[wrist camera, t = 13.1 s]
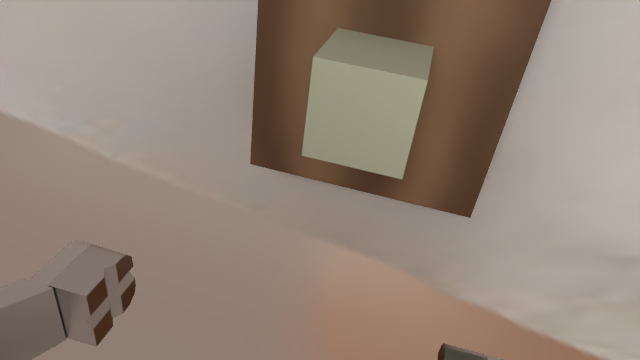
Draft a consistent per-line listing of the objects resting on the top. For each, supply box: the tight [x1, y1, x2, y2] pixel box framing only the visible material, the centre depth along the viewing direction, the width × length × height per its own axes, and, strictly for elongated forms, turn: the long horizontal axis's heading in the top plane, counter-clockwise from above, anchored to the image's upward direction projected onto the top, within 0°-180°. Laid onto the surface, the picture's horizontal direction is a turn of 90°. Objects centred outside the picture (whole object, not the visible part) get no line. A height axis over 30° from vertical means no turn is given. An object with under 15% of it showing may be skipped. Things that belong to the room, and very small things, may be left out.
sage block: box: [302, 28, 434, 179], centre depth 24 cm, size 5×5×5 cm
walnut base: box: [250, 0, 551, 218], centre depth 28 cm, size 14×14×4 cm
